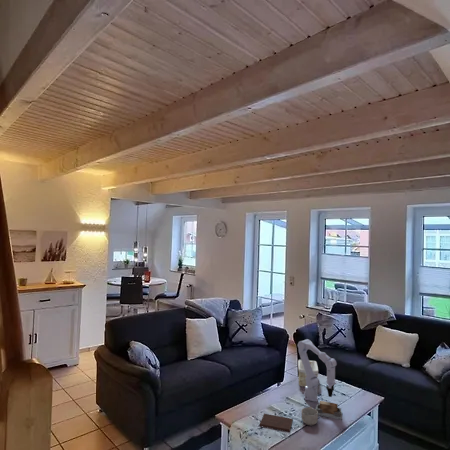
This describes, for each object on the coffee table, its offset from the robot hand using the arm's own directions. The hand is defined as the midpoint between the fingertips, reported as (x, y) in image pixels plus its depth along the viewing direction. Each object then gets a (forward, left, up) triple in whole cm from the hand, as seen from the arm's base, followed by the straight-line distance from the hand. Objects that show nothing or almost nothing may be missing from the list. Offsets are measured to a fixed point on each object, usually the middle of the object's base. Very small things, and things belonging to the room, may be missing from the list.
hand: (330, 394), depth 255 cm
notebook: (-33, -36, -10) cm, 50 cm away
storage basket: (-21, +38, -10) cm, 44 cm away
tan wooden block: (-1, -10, -8) cm, 13 cm away
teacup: (-12, -26, -10) cm, 30 cm away
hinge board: (-1, -10, -9) cm, 14 cm away
